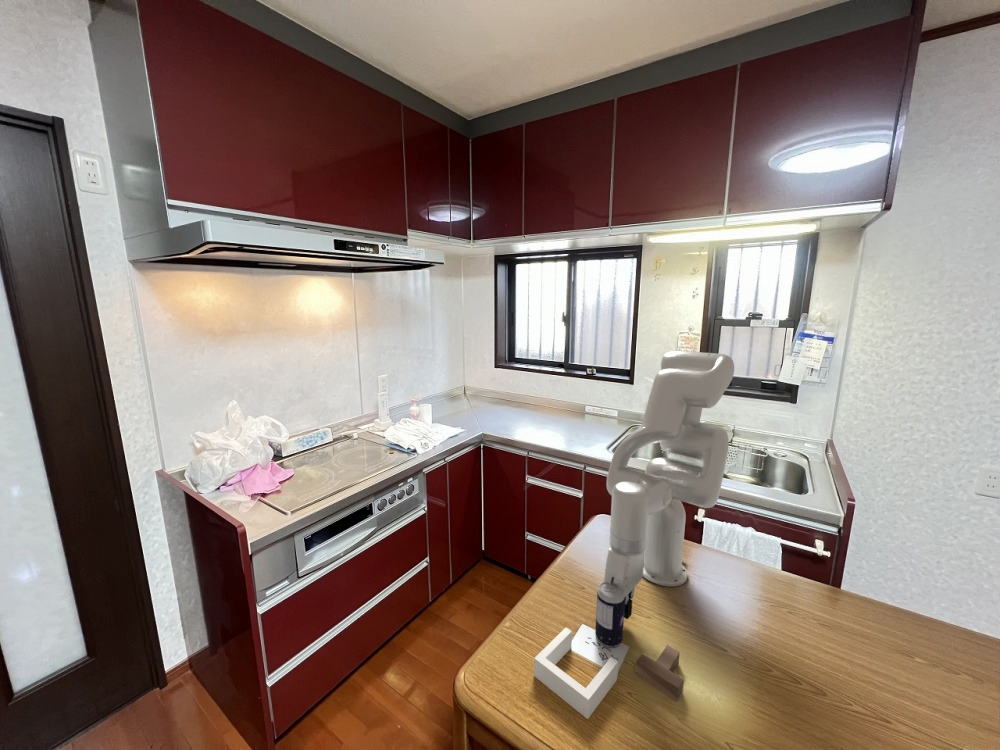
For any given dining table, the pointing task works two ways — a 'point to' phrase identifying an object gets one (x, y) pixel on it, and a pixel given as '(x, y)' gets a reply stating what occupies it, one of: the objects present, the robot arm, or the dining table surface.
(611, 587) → the beverage can
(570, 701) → the corral
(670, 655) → the walnut T block
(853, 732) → the dining table surface
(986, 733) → the dining table surface
